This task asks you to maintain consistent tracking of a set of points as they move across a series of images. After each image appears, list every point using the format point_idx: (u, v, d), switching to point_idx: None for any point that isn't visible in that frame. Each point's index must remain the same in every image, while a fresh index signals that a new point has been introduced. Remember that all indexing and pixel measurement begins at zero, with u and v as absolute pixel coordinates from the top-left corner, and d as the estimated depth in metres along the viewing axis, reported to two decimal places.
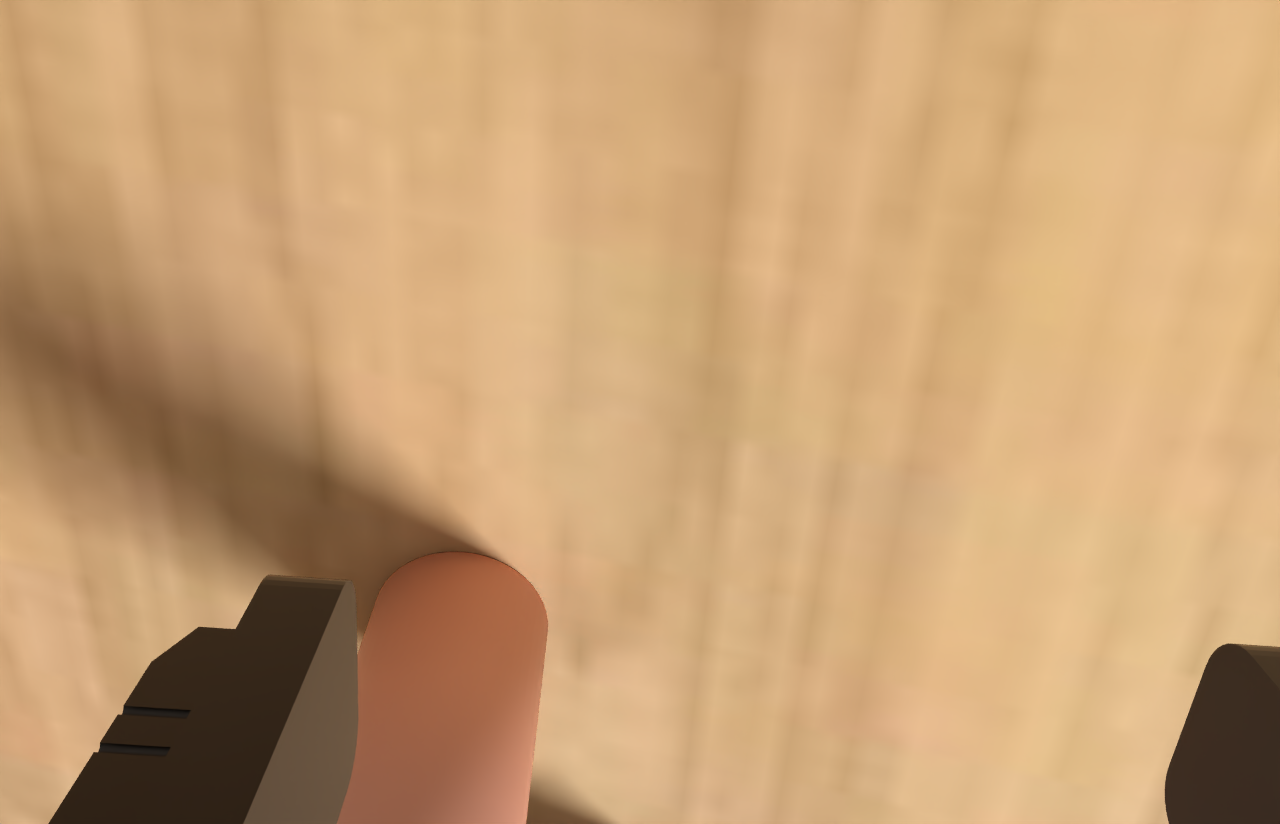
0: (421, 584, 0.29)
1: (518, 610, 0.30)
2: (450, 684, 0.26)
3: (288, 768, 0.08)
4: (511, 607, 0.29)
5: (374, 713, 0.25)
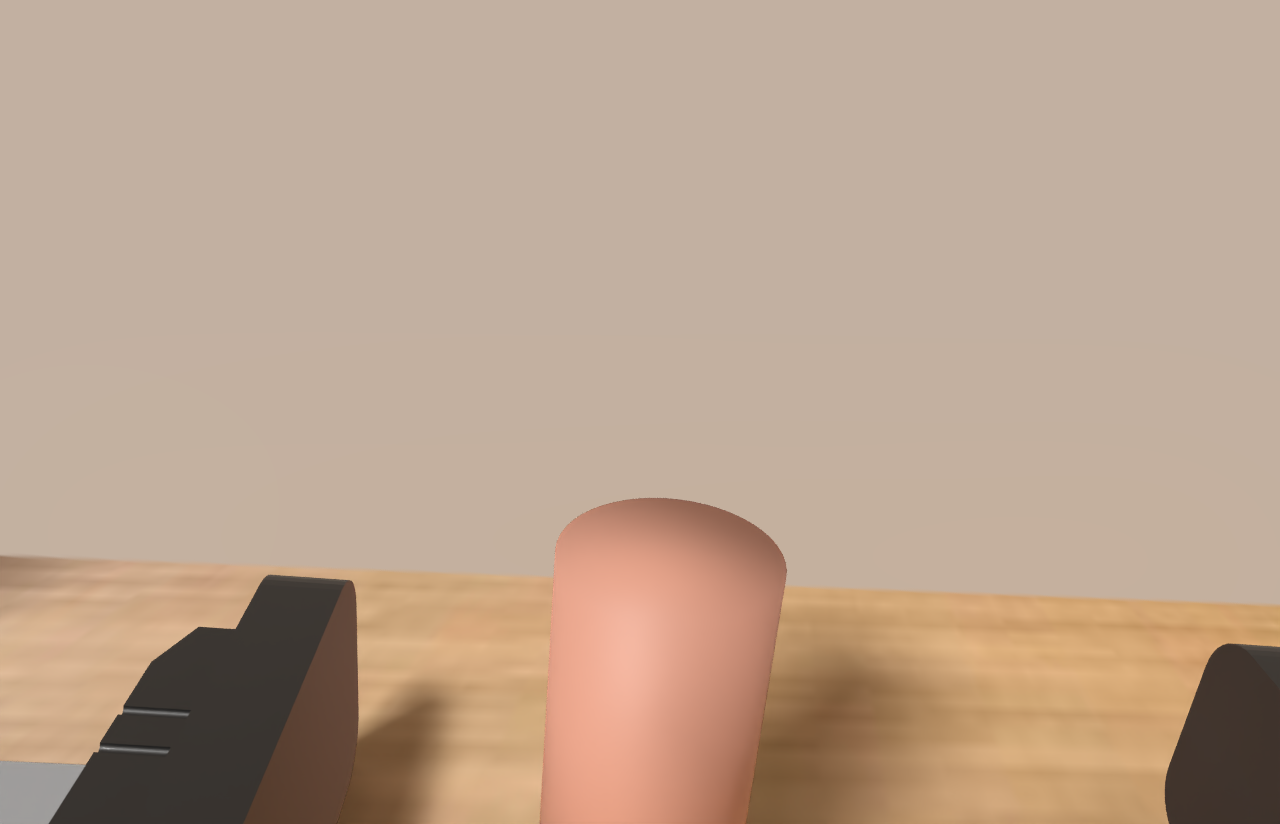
0: None
1: None
2: None
3: (288, 767, 0.08)
4: None
5: None
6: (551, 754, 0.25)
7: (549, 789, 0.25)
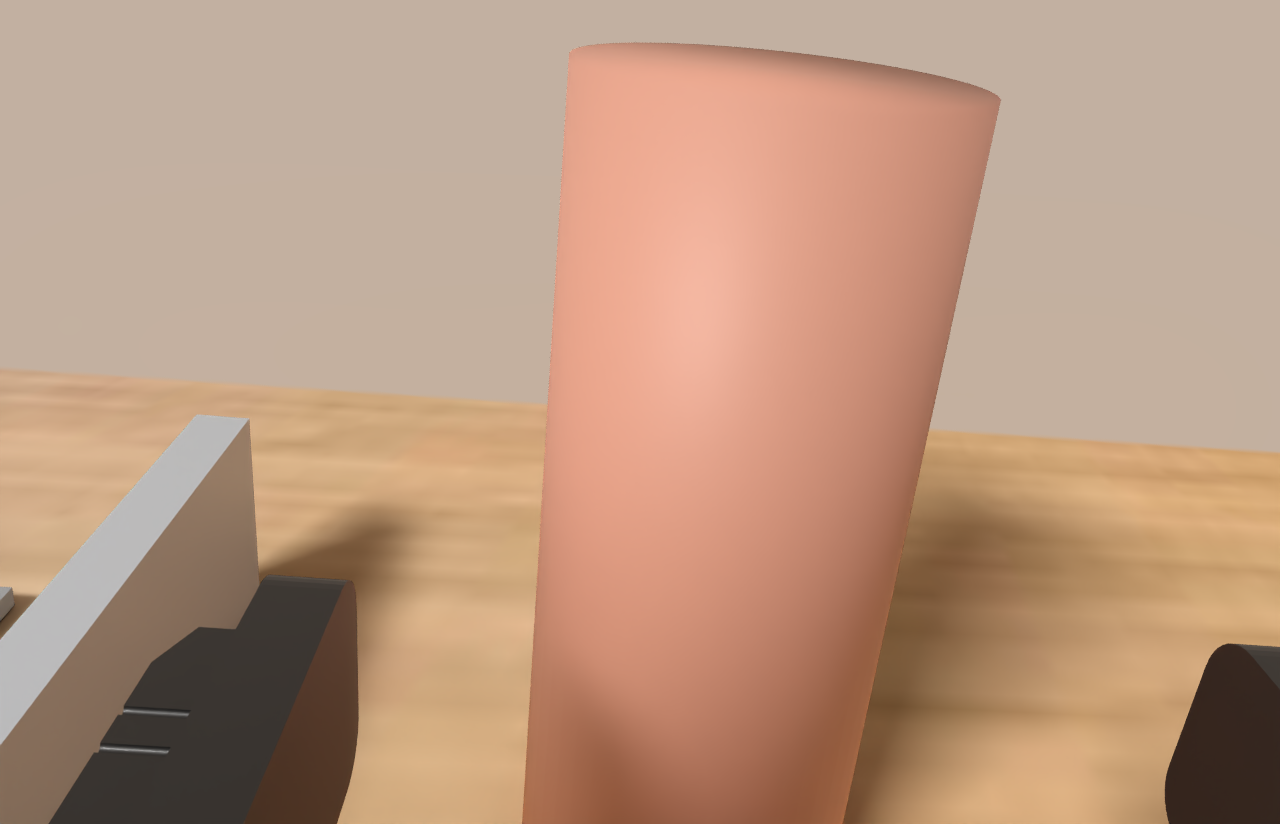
0: None
1: None
2: None
3: (288, 768, 0.08)
4: None
5: None
6: (556, 461, 0.14)
7: (551, 531, 0.14)
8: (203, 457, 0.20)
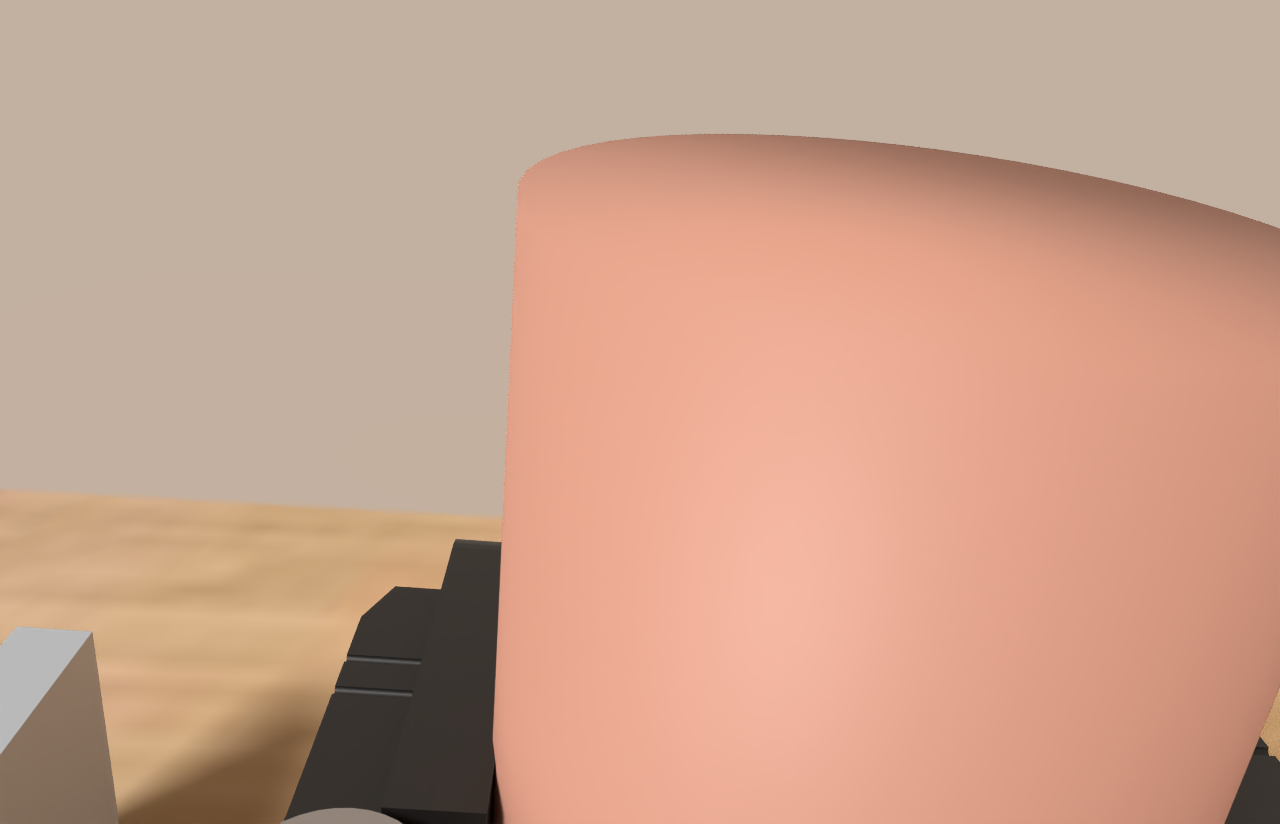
0: None
1: None
2: None
3: None
4: None
5: None
6: None
7: None
8: (5, 713, 0.13)
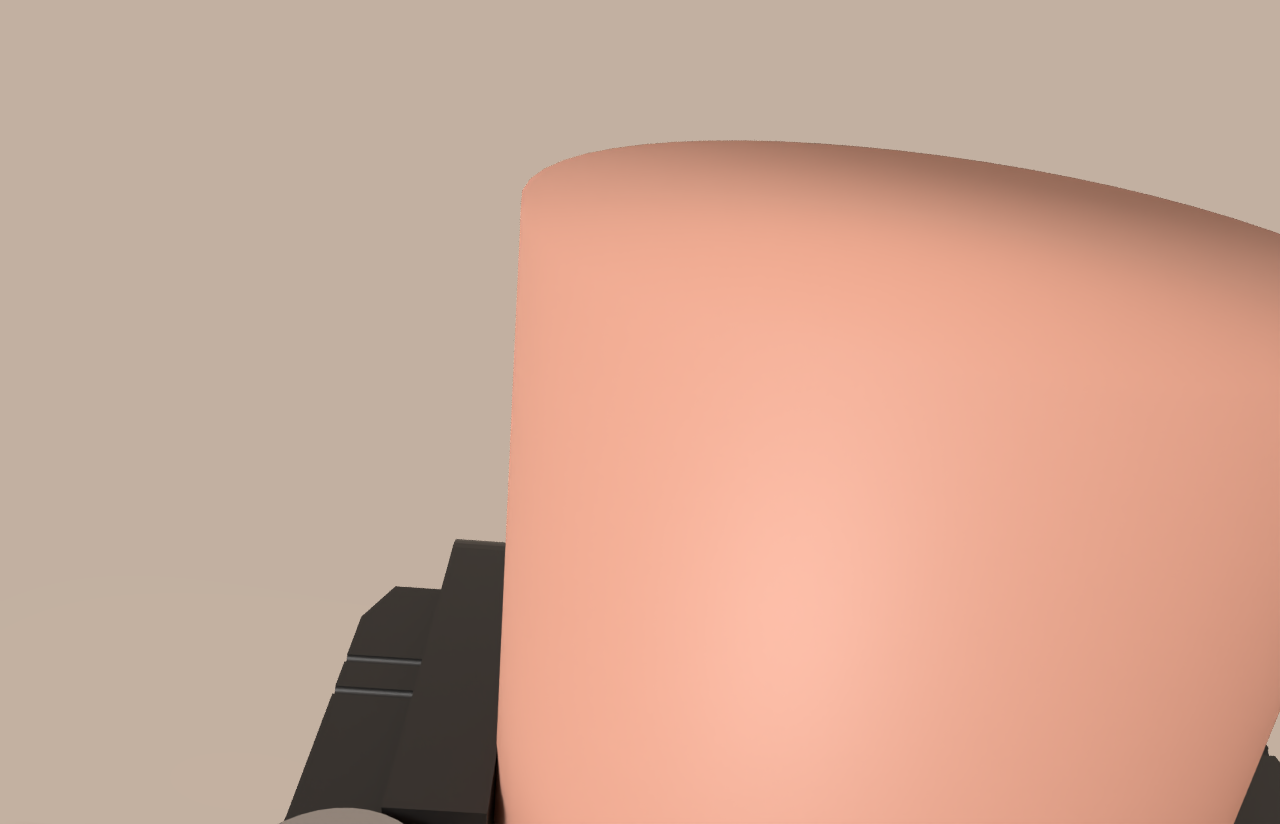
0: None
1: None
2: None
3: None
4: None
5: None
6: None
7: None
8: None
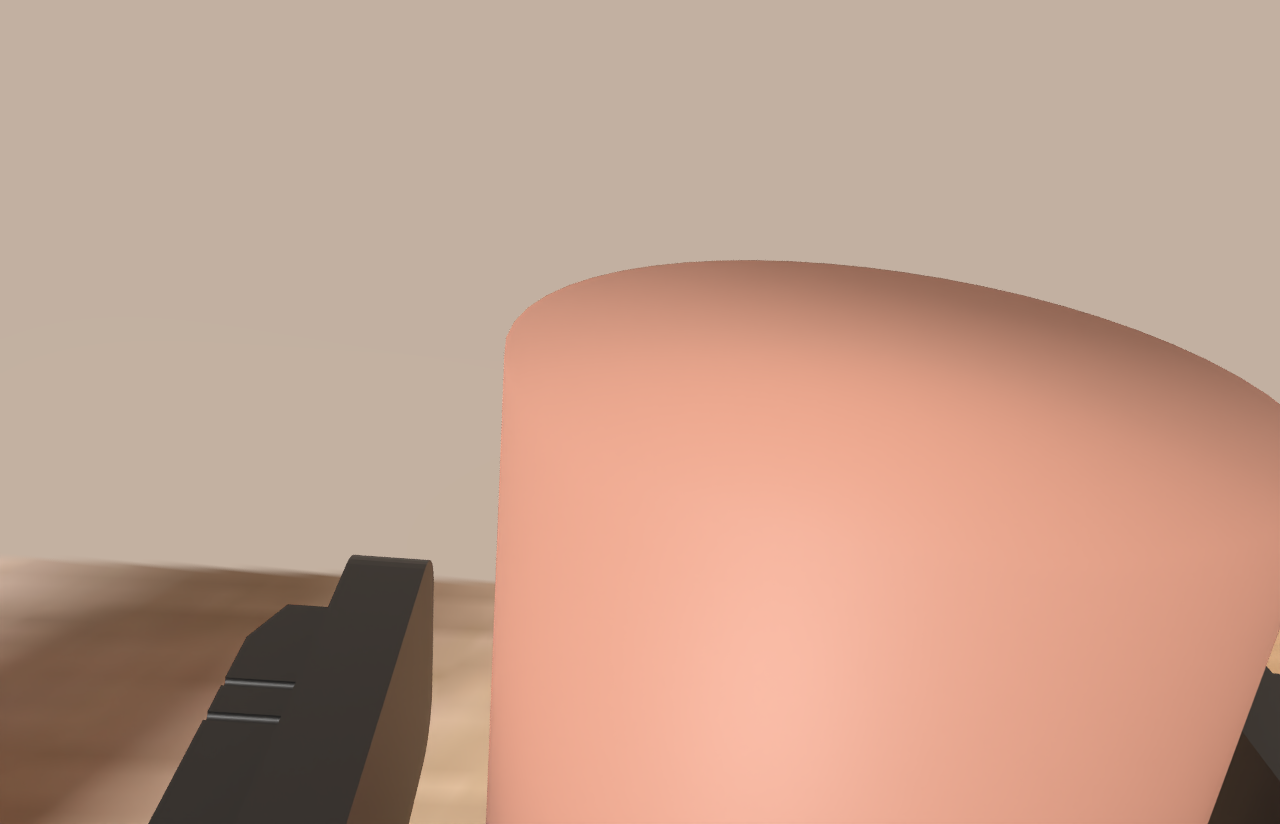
0: None
1: None
2: None
3: (387, 735, 0.08)
4: None
5: None
6: None
7: None
8: None
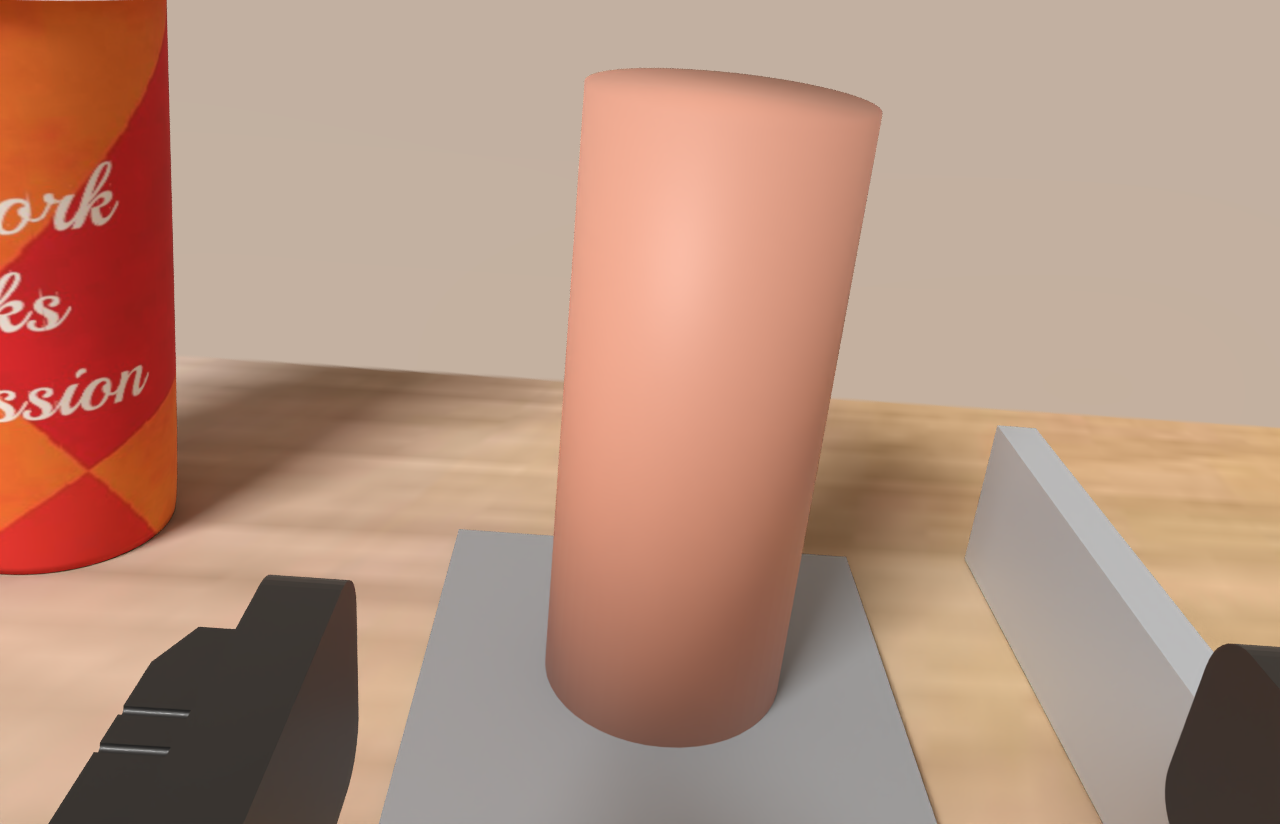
0: None
1: (763, 666, 0.22)
2: None
3: (287, 768, 0.08)
4: (770, 657, 0.22)
5: None
6: (574, 368, 0.20)
7: (570, 420, 0.20)
8: (1048, 457, 0.27)
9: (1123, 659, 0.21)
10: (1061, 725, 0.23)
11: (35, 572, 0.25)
